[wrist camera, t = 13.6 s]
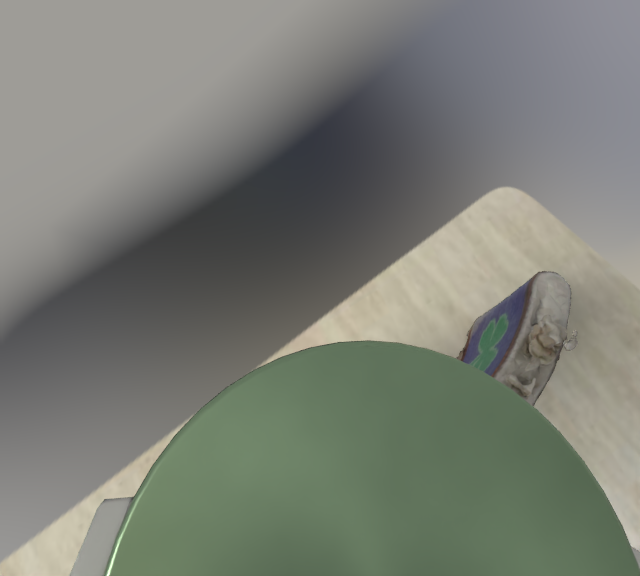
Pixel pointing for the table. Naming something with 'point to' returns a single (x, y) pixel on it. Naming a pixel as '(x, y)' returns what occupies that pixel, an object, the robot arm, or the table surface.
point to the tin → (370, 478)
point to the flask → (523, 335)
